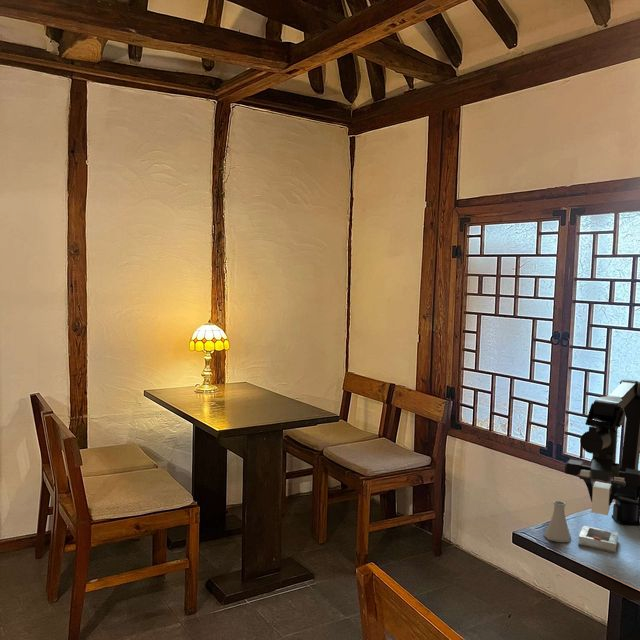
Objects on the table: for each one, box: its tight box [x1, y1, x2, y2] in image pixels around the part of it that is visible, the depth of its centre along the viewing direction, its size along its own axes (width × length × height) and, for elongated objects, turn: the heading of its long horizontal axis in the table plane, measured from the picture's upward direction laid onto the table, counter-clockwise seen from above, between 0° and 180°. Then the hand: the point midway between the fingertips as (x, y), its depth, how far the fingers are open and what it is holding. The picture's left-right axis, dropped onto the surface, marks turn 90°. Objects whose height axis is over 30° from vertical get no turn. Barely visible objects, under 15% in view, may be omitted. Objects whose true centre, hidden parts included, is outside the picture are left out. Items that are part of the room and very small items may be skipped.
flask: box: [543, 500, 572, 543], centre depth 177 cm, size 7×7×10 cm
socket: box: [577, 524, 619, 554], centre depth 174 cm, size 9×9×3 cm
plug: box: [590, 480, 611, 516], centre depth 173 cm, size 6×4×7 cm
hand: (601, 503), depth 174 cm, fingers closed on plug, 4 cm apart
